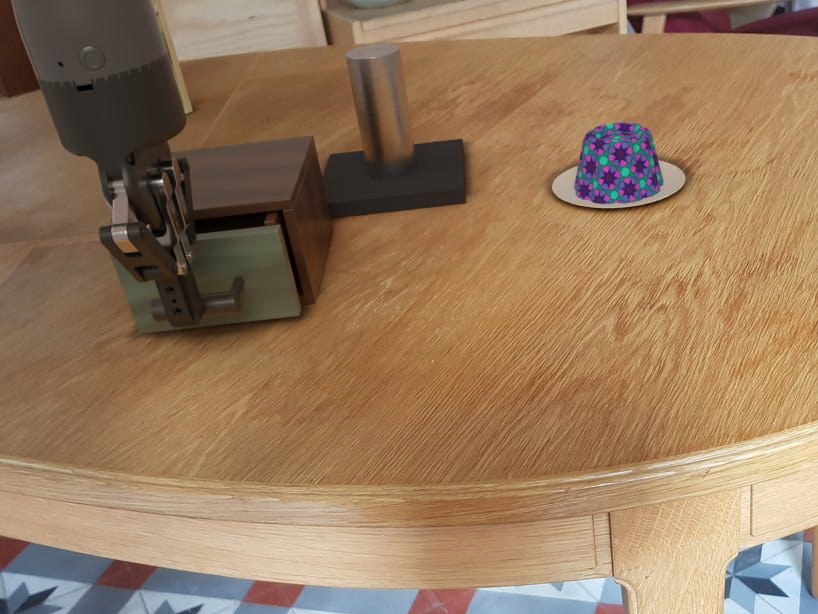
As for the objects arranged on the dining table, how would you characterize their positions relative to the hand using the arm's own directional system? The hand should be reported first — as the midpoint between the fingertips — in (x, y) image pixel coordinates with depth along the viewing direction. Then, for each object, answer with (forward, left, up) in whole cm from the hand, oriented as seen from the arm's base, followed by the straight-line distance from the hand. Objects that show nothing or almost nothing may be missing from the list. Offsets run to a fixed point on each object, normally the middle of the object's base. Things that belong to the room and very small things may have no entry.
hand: (188, 321), depth 65 cm
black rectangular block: (+12, +33, -4) cm, 36 cm away
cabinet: (0, +16, -4) cm, 17 cm away
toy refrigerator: (-20, +64, -4) cm, 68 cm away
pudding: (+33, +25, -4) cm, 42 cm away
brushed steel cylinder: (+12, +33, -3) cm, 36 cm away
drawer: (0, +10, -3) cm, 10 cm away
